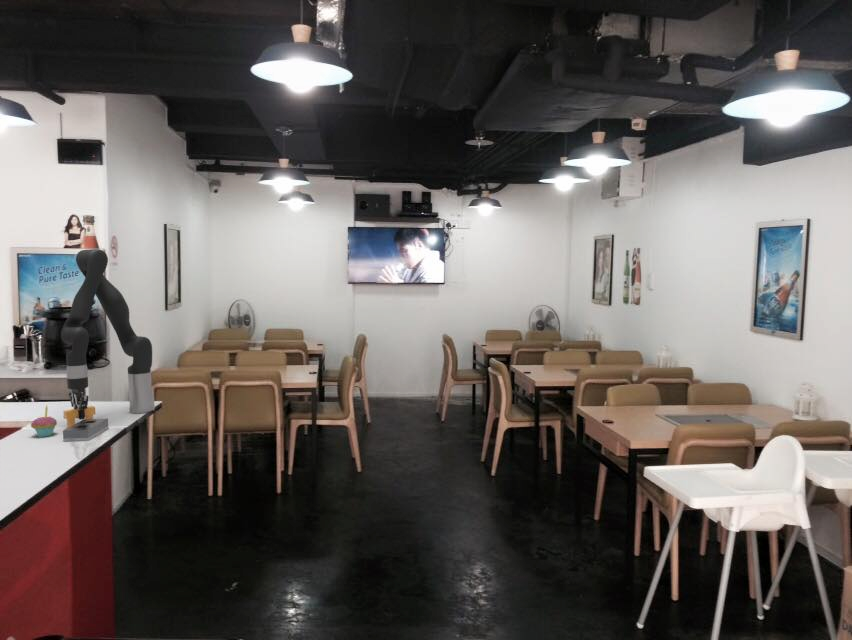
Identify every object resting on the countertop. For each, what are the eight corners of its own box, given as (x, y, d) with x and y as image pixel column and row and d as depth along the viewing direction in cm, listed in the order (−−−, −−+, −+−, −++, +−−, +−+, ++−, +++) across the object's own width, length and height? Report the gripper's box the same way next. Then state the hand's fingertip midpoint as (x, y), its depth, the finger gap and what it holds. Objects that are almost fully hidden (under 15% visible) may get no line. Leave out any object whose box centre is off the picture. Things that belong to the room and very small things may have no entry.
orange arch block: (93, 422, 272) (92, 406, 272) (96, 423, 270) (95, 407, 270) (64, 428, 264) (63, 410, 263) (67, 429, 262) (66, 411, 261)
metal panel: (85, 428, 262) (84, 418, 262) (108, 428, 263) (107, 418, 263) (63, 441, 244) (62, 430, 244) (88, 440, 245) (87, 429, 245)
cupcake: (62, 433, 256) (60, 402, 255) (43, 439, 248) (41, 407, 247) (46, 431, 259) (44, 401, 258) (26, 437, 251) (24, 406, 250)
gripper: (94, 376, 264) (97, 419, 265) (80, 373, 273) (82, 414, 274) (74, 379, 258) (77, 423, 259) (60, 375, 267) (63, 417, 269)
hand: (80, 418), depth 267 cm, fingers closed on orange arch block, 3 cm apart
